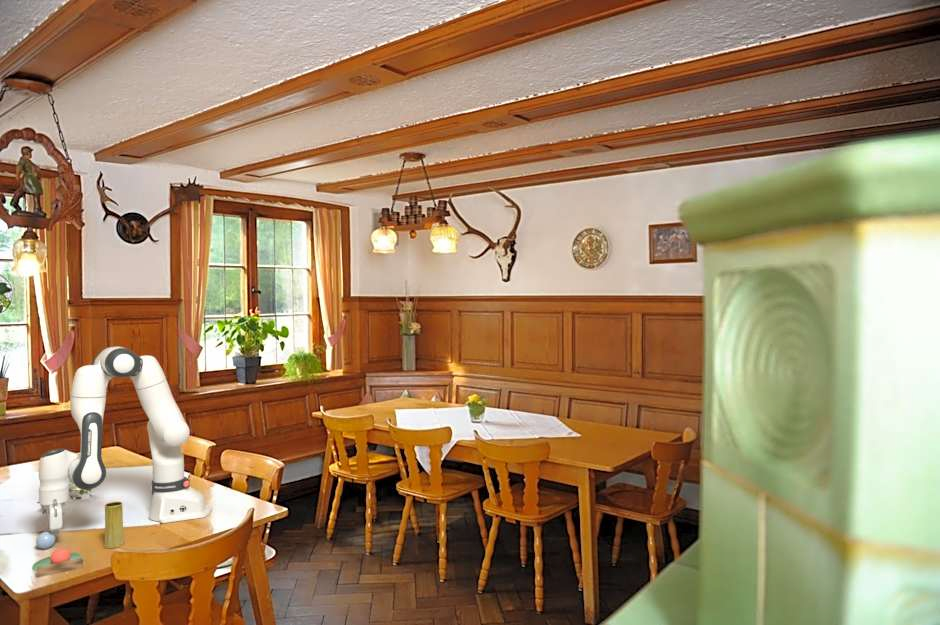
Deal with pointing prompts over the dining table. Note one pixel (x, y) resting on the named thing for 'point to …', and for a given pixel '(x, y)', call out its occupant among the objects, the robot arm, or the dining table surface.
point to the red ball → (60, 556)
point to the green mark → (47, 561)
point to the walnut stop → (59, 567)
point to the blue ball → (45, 540)
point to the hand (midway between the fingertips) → (54, 535)
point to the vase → (113, 525)
